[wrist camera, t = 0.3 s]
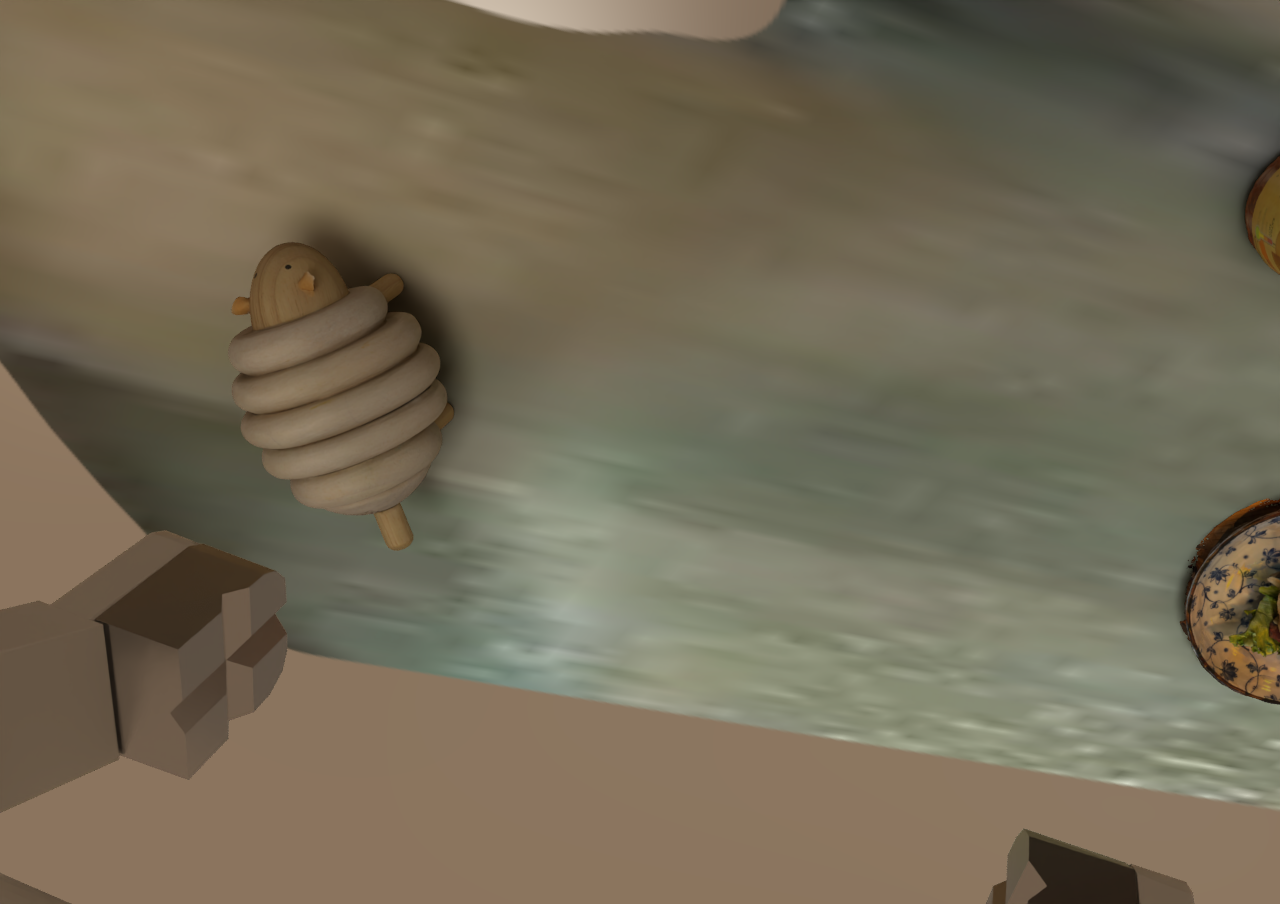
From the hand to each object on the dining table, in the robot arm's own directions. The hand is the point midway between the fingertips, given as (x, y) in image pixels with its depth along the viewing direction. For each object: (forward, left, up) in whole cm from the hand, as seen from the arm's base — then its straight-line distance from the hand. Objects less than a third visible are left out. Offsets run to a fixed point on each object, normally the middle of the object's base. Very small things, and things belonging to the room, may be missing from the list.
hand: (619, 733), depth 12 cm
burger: (+18, +28, -46) cm, 57 cm away
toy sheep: (+15, -22, -46) cm, 53 cm away
